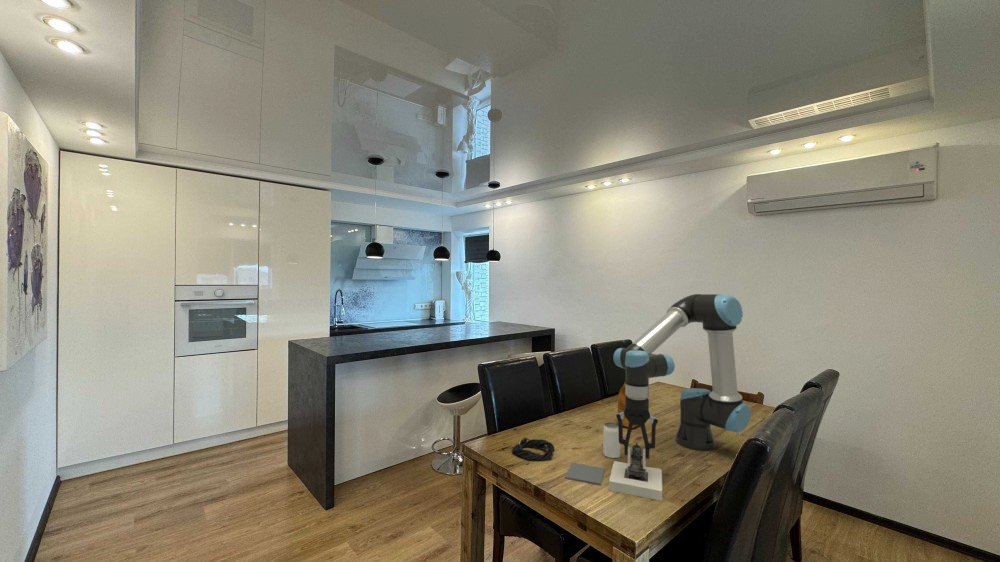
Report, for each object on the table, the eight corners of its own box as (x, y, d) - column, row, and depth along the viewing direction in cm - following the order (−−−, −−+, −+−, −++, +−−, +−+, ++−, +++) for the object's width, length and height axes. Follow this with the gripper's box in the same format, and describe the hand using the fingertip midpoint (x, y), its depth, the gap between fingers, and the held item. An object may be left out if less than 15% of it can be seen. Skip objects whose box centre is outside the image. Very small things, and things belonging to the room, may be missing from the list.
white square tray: (661, 477, 135) (661, 469, 135) (662, 500, 120) (662, 491, 120) (613, 469, 141) (614, 460, 141) (609, 490, 126) (609, 481, 126)
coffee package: (646, 425, 188) (647, 379, 188) (633, 431, 179) (633, 383, 180) (628, 419, 195) (628, 376, 196) (614, 425, 187) (614, 379, 187)
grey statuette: (624, 474, 134) (624, 439, 134) (641, 473, 134) (641, 439, 134) (631, 483, 128) (632, 446, 128) (649, 482, 128) (649, 446, 128)
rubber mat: (604, 470, 140) (604, 468, 140) (600, 485, 129) (600, 483, 129) (571, 464, 145) (571, 462, 145) (565, 478, 134) (565, 476, 134)
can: (617, 460, 148) (617, 428, 149) (601, 456, 152) (601, 425, 152) (622, 454, 154) (622, 424, 154) (605, 450, 157) (606, 420, 158)
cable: (561, 456, 152) (561, 445, 152) (537, 467, 142) (538, 455, 143) (529, 443, 165) (529, 433, 165) (505, 452, 155) (505, 441, 155)
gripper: (664, 396, 132) (663, 465, 131) (611, 391, 138) (611, 457, 138) (664, 402, 125) (664, 475, 124) (609, 396, 131) (609, 466, 131)
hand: (636, 466), depth 131 cm, fingers closed on grey statuette, 4 cm apart
